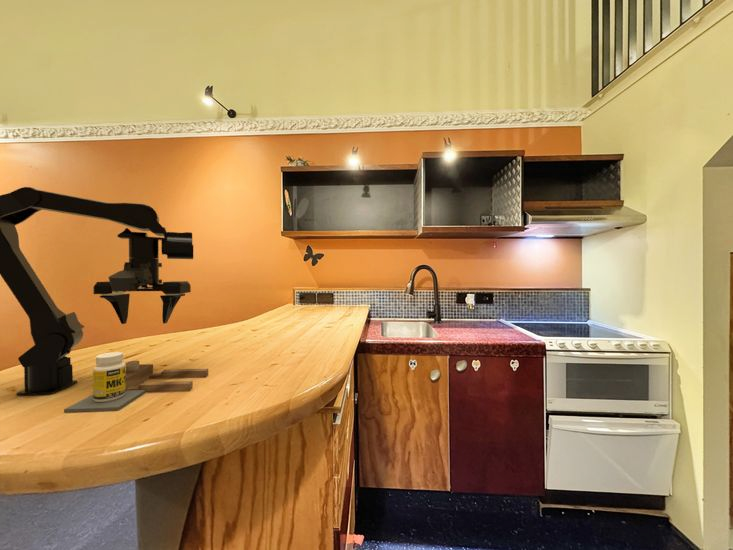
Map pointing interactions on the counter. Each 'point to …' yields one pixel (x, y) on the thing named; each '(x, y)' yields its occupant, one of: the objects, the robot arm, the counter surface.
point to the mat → (105, 403)
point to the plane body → (144, 372)
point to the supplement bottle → (109, 377)
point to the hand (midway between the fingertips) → (144, 323)
